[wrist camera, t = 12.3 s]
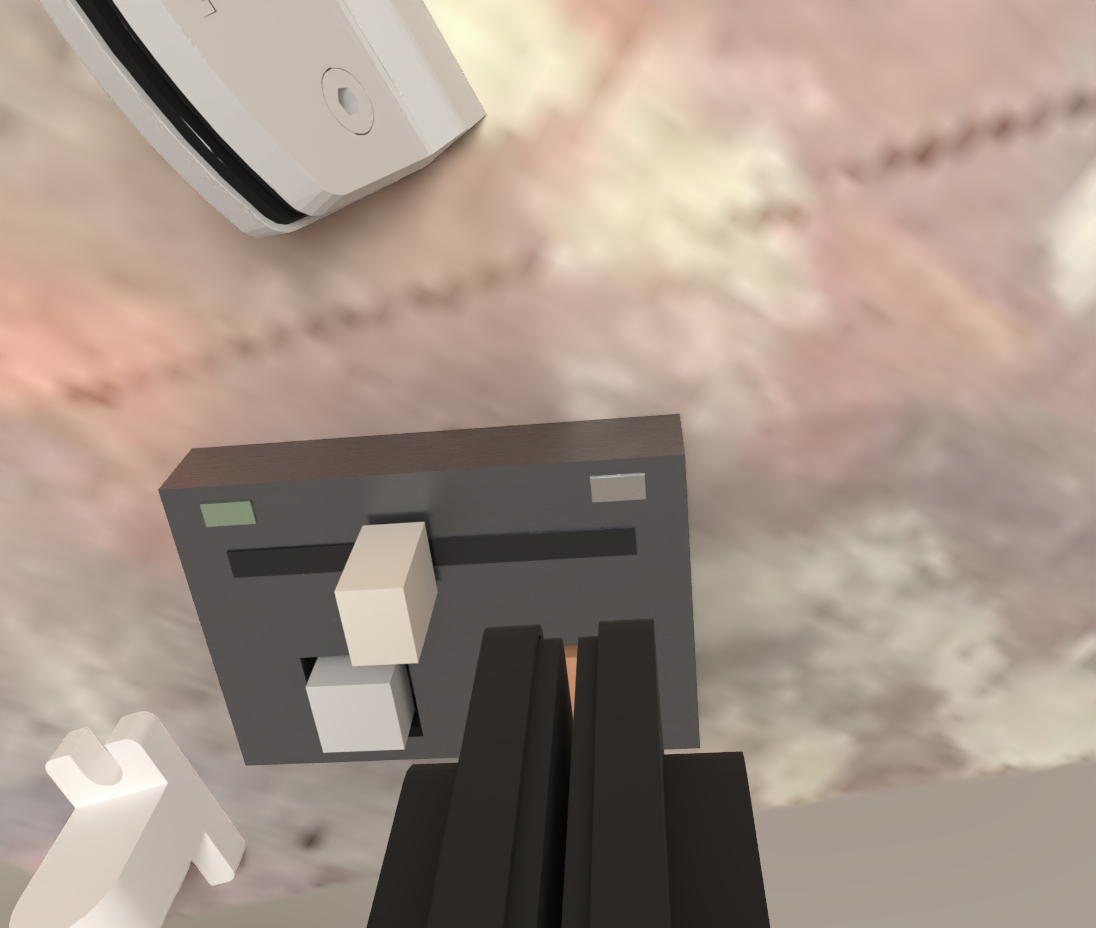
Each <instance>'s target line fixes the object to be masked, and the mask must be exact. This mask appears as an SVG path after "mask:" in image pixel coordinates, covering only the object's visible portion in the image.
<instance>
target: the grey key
mask: <svg viewBox="0 0 1096 928" xmlns="http://www.w3.org/2000/svg"><path fill="white" fill-rule="evenodd" d="M306 691H307V694H308V698H309V702H310V705H311V709H312V713H313V717H314V720H315V724H316V728H317V731H318V735H319V739H320V742H321V746H322V750H323V753H328V752H353V751H379V750H404V749H405V746H406V742H407V739H408V735H409V731H410V727H411V723H412V719H413V715H414V712H415V706H414V702H413V697H412V692H411V688H410V683H409V678H408V673H407V669H406V664H389V665H368V666H352V663H351V659H350V655H347V656H327V657H318V658H317V661H316V663H315V666H314V668H313V670H312V673H311V675H310V678H309V680H308V683H307V685H306Z"/></svg>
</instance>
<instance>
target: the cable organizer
mask: <svg viewBox="0 0 1096 928" xmlns="http://www.w3.org/2000/svg"><path fill="white" fill-rule="evenodd" d="M105 746H106V748H107V749H108V751H109V752H110V753H109V752H108V751H106V750H105V749H104V748H103V747H102V745H101V744H100V743H99V741H98V740H97V739H96V737H95V736H94V735H93V733H92V732H91V731H90V729H89V728H88V727H85V728H82V729H78V730H75V731H71V732H69V733H67V734H66V736H65V737H64V739H63V740H62V741H61V743H60V744H59V746H58V747H57V749H56V750H55V752H54V753H53V755H52V756H51V758H50V759H49V760H48V762H47V764H46V767H45V768H46V771H47V773H48V774H49V775H50V777H51V778H52V779H53V780H54V782H55V783H56V784H57V785H58V787H59V788H60V789H61V791H62V792H63V793H64V794H65V796H66V797H67V798H68V799H69V801H70V802H71V803H72V804H73V806H74V807H75V810H74V811H73V813H72V815H71V816H70V818H69V820H68V821H67V823H66V824H65V826H64V828H63V829H62V831H61V833H60V834H59V836H58V837H57V839H56V841H55V842H54V844H53V845H52V847H51V849H50V850H49V852H48V854H47V855H46V857H45V858H44V860H43V862H42V863H41V865H40V867H39V868H38V870H37V871H36V873H35V875H34V876H33V878H32V879H31V881H30V883H29V884H28V886H27V888H26V889H25V891H24V893H23V894H22V896H21V897H20V899H19V901H18V903H17V905H16V906H15V908H14V910H13V913H12V915H11V919H10V924H9V928H161V926H162V924H163V922H164V919H165V917H166V915H167V913H168V911H169V908H170V906H171V904H172V902H173V900H174V898H175V895H176V894H178V892H179V890H180V888H181V885H182V883H183V881H184V879H185V877H186V874H187V872H188V870H189V868H190V866H191V864H190V863H191V860H192V862H193V863H194V864H195V865H196V866H197V868H198V869H199V870H200V872H201V873H202V874H203V876H204V877H205V878H206V880H207V881H208V883H209V884H210V885H211V886H213V885H217V884H221V883H225V882H229V881H231V880H232V879H233V878H234V876H235V874H236V871H237V869H238V866H239V864H240V861H241V859H242V856H243V854H244V851H245V849H246V843H245V841H244V840H243V838H242V837H241V835H240V834H239V832H238V831H237V830H236V828H235V827H234V825H233V824H232V822H231V821H230V820H229V818H228V817H227V815H226V814H225V813H224V811H223V810H222V808H221V807H220V805H219V804H218V803H217V801H216V800H215V798H214V797H213V796H212V794H211V793H210V791H209V790H208V788H207V787H206V786H205V784H204V783H203V781H202V780H201V779H200V777H199V776H198V774H197V773H196V771H195V770H194V769H193V767H192V766H191V764H190V763H189V762H188V760H187V759H186V757H185V756H184V754H183V753H182V752H181V750H180V749H179V747H178V746H177V745H176V743H175V742H174V740H173V739H172V737H171V736H170V735H169V733H168V732H167V730H166V729H165V728H164V726H163V725H162V723H161V722H160V720H159V719H158V718H157V717H156V716H155V715H154V714H152V713H150V712H146V711H141V712H137V713H133V714H130V715H127V716H123V717H122V718H121V719H120V721H119V722H118V724H117V726H116V727H115V729H114V730H113V732H112V733H111V735H110V737H109V738H108V740H107V741H106V743H105Z"/></svg>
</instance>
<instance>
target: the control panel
mask: <svg viewBox="0 0 1096 928" xmlns="http://www.w3.org/2000/svg"><path fill="white" fill-rule="evenodd" d="M159 494H160V497H161V500H162V503H163V506H164V509H165V513H166V516H167V519H168V522H169V525H170V528H171V531H172V535H173V538H174V541H175V544H176V547H177V550H178V553H179V557H180V560H181V563H182V566H183V569H184V572H185V575H186V579H187V582H188V585H189V588H190V591H191V594H192V598H193V601H194V604H195V607H196V610H197V613H198V616H199V620H200V623H201V626H202V629H203V632H204V635H205V638H206V642H207V645H208V648H209V651H210V654H211V657H212V660H213V664H214V667H215V670H216V673H217V676H218V679H219V683H220V686H221V689H222V692H223V695H224V698H225V701H226V705H227V708H228V711H229V714H230V717H231V720H232V723H233V727H234V730H235V733H236V736H237V739H238V742H239V745H240V749H241V752H242V755H243V758H244V761H245V764H246V765H272V764H298V763H324V762H350V761H376V760H402V759H428V758H454V757H460V751H461V746H462V741H463V736H464V731H465V725H466V720H467V715H468V710H469V705H470V699H471V694H472V689H473V684H474V679H475V673H476V668H477V663H478V658H479V652H480V647H481V642H482V637H483V633H484V630H485V628H486V627H499V626H518V625H537V624H540V626H541V628H542V631H543V636H544V639H550V638H562V639H563V643H564V645H570V644H578V638H579V637H589V636H598V628H599V621H613V620H632V619H650V618H653V619H654V629H655V642H656V655H657V668H658V681H659V694H660V708H661V721H662V734H663V747H664V749H688V748H700V740H699V720H698V701H697V682H696V662H695V643H694V624H693V604H692V585H691V566H690V547H689V527H688V508H687V489H686V469H685V453H684V445H683V437H682V429H681V421H680V414H673V415H659V416H645V417H631V418H617V419H603V420H589V421H575V422H561V423H547V424H533V425H519V426H505V427H491V428H477V429H463V430H449V431H435V432H421V433H407V434H393V435H379V436H365V437H351V438H337V439H323V440H309V441H295V442H281V443H267V444H253V445H239V446H225V447H211V448H197V449H191V450H190V452H189V453H188V454H187V455H186V457H185V458H184V459H183V460H182V461H181V463H180V464H179V465H178V466H177V468H176V469H175V470H174V471H173V472H172V474H171V475H170V476H169V477H168V479H167V480H166V481H165V482H164V483H163V485H162V486H161V487H160V488H159ZM412 522H425V527H426V532H427V537H428V543H429V548H430V553H431V559H432V564H433V570H434V575H435V580H436V586H437V591H438V593H437V596H436V600H435V604H434V608H433V611H432V615H431V619H430V622H429V626H428V630H427V633H426V637H425V641H424V644H423V648H422V652H421V655H420V659H419V663H410V664H406V669H407V673H408V678H409V683H410V688H411V692H412V697H413V702H414V706H415V712H414V715H413V719H412V723H411V727H410V731H409V735H408V739H407V742H406V746H405V749H404V750H379V751H353V752H328V753H323V750H322V746H321V742H320V739H319V735H318V731H317V728H316V724H315V720H314V717H313V713H312V709H311V705H310V702H309V698H308V694H307V691H306V685H307V683H308V680H309V678H310V675H311V673H312V670H313V668H314V666H315V663H316V661H317V658H318V657H327V656H347V655H349V650H348V646H347V642H346V638H345V634H344V630H343V626H342V621H341V617H340V613H339V609H338V605H337V601H336V597H335V592H334V591H335V589H336V587H337V584H338V582H339V580H340V577H341V575H342V573H343V570H344V568H345V566H346V563H347V561H348V559H349V556H350V554H351V551H352V549H353V547H354V544H355V542H356V540H357V537H358V535H359V533H360V530H361V528H362V526H364V525H380V524H396V523H412Z"/></svg>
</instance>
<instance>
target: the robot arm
mask: <svg viewBox="0 0 1096 928" xmlns="http://www.w3.org/2000/svg"><path fill="white" fill-rule="evenodd" d="M367 928H770V924H769V917H768V910H767V903H766V897H765V890H764V884H763V877H762V871H761V865H760V857H759V851H758V844H757V838H756V831H755V824H754V818H753V811H752V805H751V798H750V791H749V785H748V778H747V772H746V766H745V760H744V756H743V752H719V753H694V754H668V755H664V747H663V734H662V721H661V708H660V694H659V681H658V668H657V655H656V642H655V629H654V619H653V618H650V619H632V620H613V621H599V628H598V636H589V637H579V638H578V646H577V664H576V681H575V699H574V716H573V713H572V705H571V697H570V689H569V681H568V673H567V665H566V657H565V650H564V643H563V639H562V638H550V639H544V636H543V631H542V628H541V626H540V624H537V625H518V626H499V627H486V628H485V630H484V633H483V637H482V642H481V647H480V652H479V658H478V663H477V668H476V673H475V679H474V684H473V689H472V694H471V699H470V705H469V710H468V715H467V720H466V725H465V731H464V736H463V741H462V746H461V751H460V757H459V762H458V763H439V764H413V765H412V766H411V767H410V768H409V769H408V771H407V773H406V776H405V779H404V782H403V785H402V789H401V793H400V797H399V801H398V805H397V809H396V813H395V817H394V821H393V825H392V829H391V833H390V837H389V841H388V845H387V849H386V853H385V857H384V861H383V865H382V869H381V873H380V877H379V881H378V885H377V889H376V892H375V896H374V901H373V905H372V909H371V912H370V916H369V920H368V924H367Z"/></svg>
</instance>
